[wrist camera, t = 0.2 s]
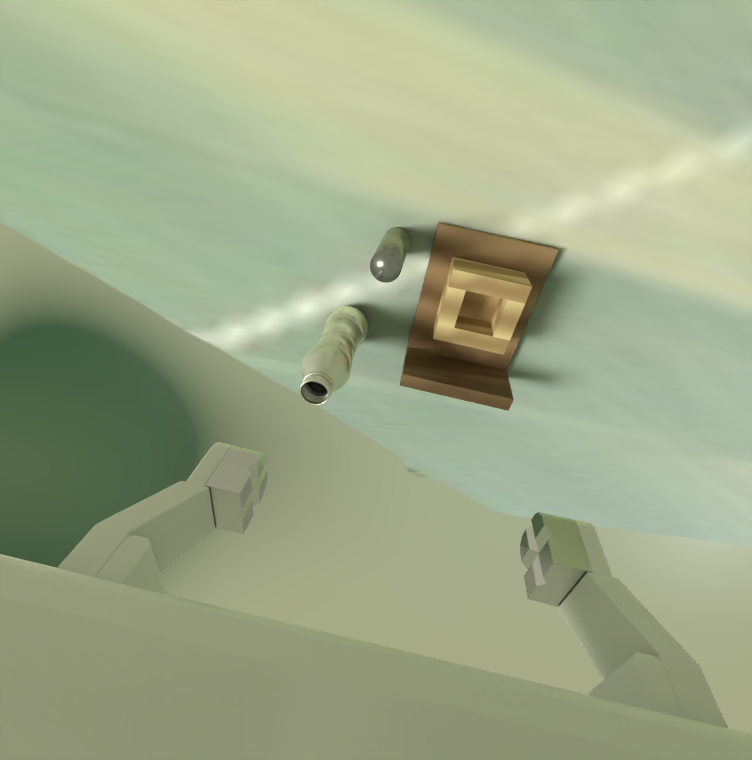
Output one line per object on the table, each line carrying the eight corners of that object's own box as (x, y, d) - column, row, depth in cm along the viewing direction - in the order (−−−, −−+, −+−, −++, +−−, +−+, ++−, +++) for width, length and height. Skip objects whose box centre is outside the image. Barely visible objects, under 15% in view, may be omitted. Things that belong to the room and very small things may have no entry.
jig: (438, 222, 52) (437, 238, 45) (556, 248, 52) (574, 269, 44) (405, 354, 64) (399, 385, 57) (501, 376, 64) (508, 410, 56)
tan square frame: (453, 256, 53) (453, 269, 49) (525, 272, 53) (532, 286, 49) (434, 322, 59) (433, 338, 55) (499, 336, 59) (503, 354, 54)
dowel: (386, 224, 54) (372, 247, 44) (412, 230, 53) (404, 254, 44) (382, 250, 56) (367, 278, 46) (406, 256, 56) (397, 285, 46)
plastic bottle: (378, 322, 62) (353, 396, 45) (349, 347, 65) (316, 423, 49) (349, 293, 60) (312, 358, 43) (321, 319, 63) (276, 389, 47)
